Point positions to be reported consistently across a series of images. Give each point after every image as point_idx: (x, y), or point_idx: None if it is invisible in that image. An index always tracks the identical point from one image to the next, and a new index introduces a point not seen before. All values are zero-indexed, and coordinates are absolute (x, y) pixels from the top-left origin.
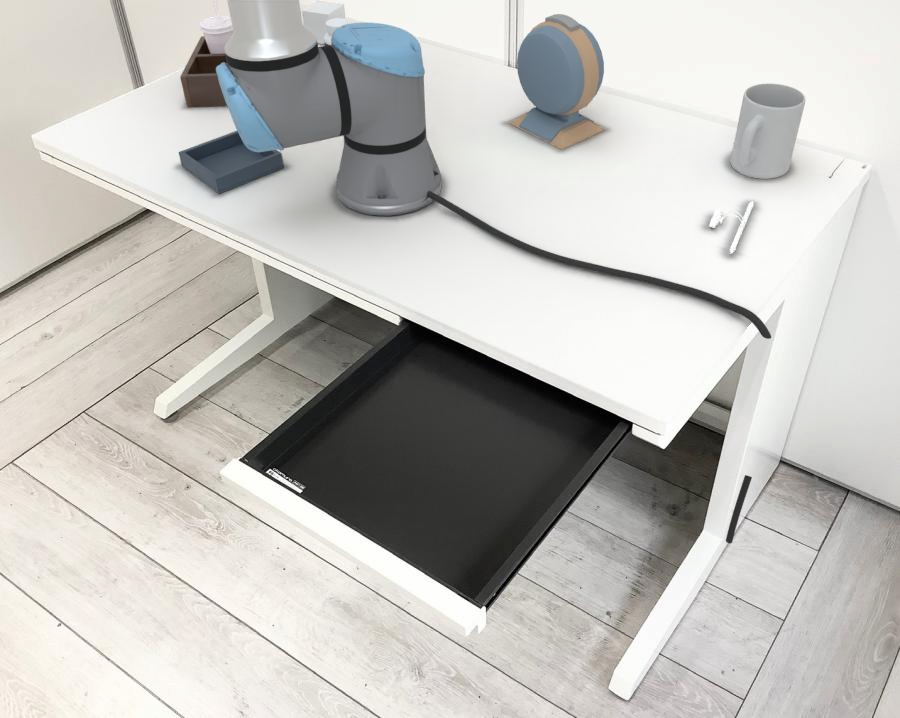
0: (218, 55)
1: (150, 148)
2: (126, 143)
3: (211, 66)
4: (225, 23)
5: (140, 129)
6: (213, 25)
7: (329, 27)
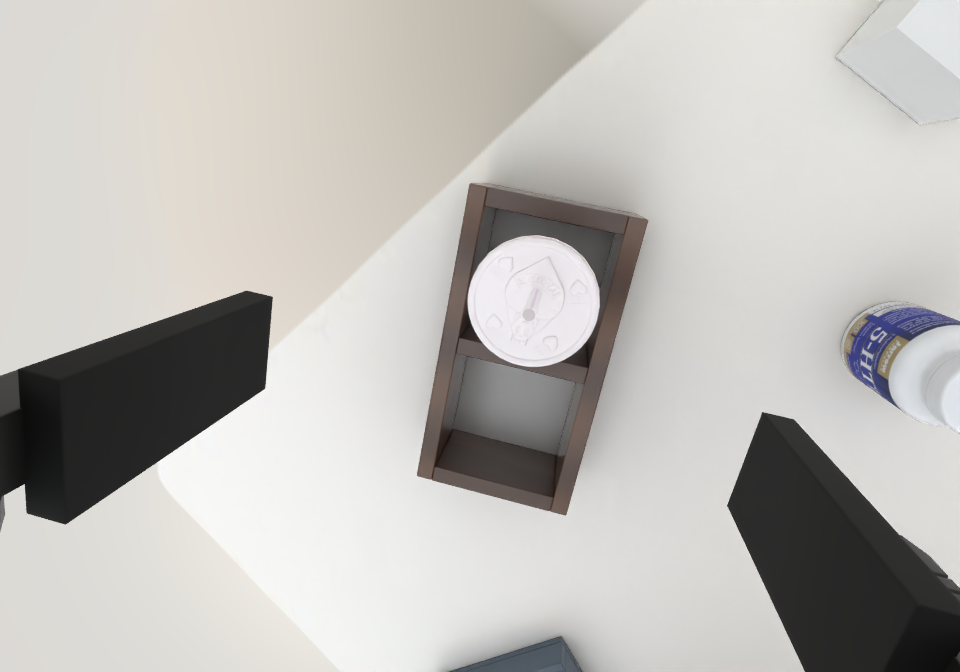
0: (523, 367)
1: (372, 590)
2: (323, 555)
3: None
4: (560, 322)
5: (343, 507)
6: (516, 342)
7: (944, 422)
